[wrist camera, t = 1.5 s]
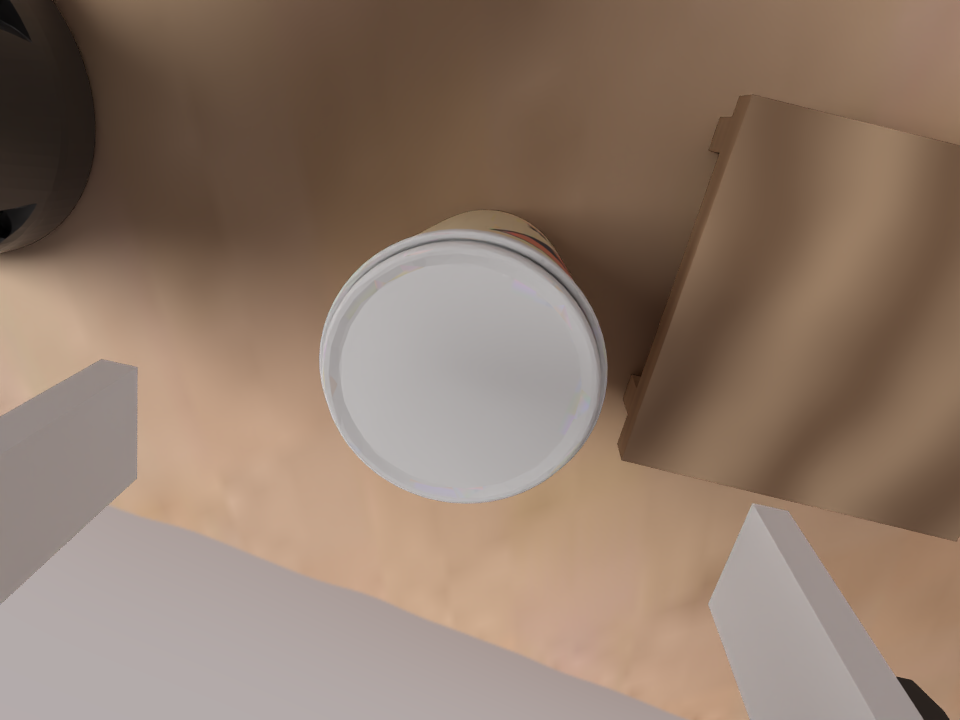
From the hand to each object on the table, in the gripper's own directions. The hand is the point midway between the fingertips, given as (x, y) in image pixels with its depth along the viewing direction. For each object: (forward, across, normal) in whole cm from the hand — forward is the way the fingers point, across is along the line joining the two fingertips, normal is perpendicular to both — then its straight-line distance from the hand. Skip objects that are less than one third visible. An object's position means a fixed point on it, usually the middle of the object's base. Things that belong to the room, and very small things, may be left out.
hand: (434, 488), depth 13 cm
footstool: (+18, +15, +2) cm, 24 cm away
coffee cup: (+19, 0, 0) cm, 19 cm away
